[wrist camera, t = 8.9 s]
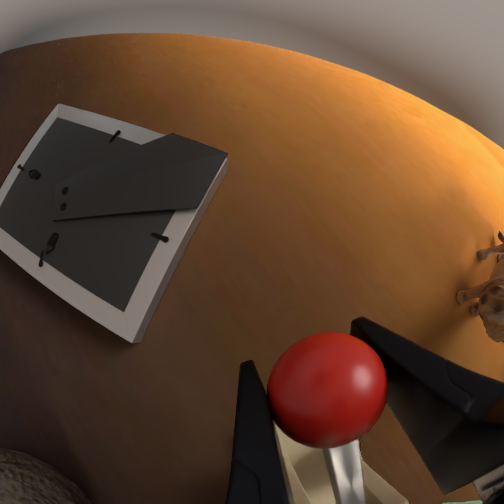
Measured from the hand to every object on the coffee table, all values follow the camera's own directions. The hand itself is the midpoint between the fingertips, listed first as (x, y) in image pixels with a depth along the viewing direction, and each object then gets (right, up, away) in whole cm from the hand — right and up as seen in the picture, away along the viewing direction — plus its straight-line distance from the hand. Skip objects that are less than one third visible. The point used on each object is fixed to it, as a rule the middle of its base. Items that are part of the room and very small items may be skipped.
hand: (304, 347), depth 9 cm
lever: (+2, -6, +1) cm, 6 cm away
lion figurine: (+22, -1, +15) cm, 27 cm away
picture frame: (-16, +7, +14) cm, 23 cm away
